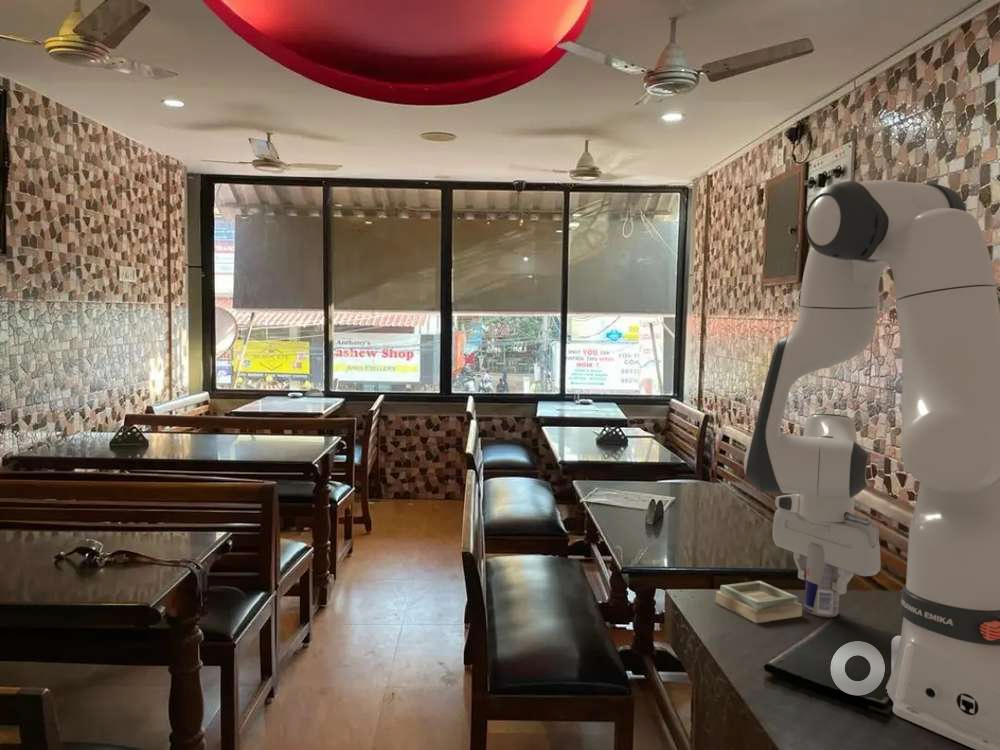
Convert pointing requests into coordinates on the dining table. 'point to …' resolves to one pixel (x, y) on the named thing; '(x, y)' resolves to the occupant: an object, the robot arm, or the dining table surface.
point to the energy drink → (820, 584)
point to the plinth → (758, 601)
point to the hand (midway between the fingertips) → (821, 585)
